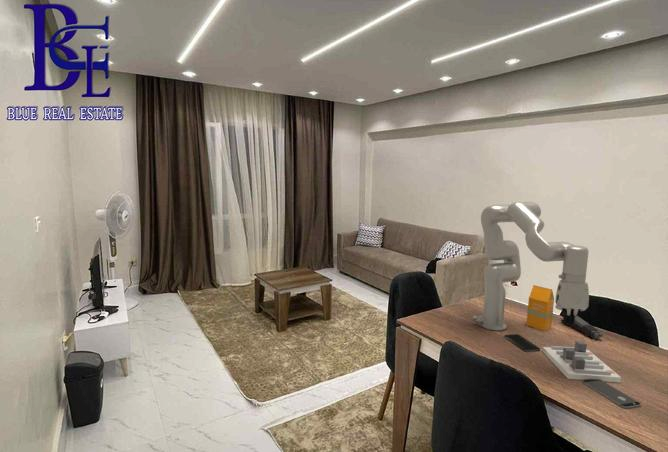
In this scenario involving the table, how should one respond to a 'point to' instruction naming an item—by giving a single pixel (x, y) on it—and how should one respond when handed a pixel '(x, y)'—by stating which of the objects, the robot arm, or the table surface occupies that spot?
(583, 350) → the far tab
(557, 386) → the table surface
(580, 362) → the near tab
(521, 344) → the phone
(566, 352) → the middle tab
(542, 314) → the orange juice
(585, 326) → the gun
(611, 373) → the switch board
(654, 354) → the table surface
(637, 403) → the phone
